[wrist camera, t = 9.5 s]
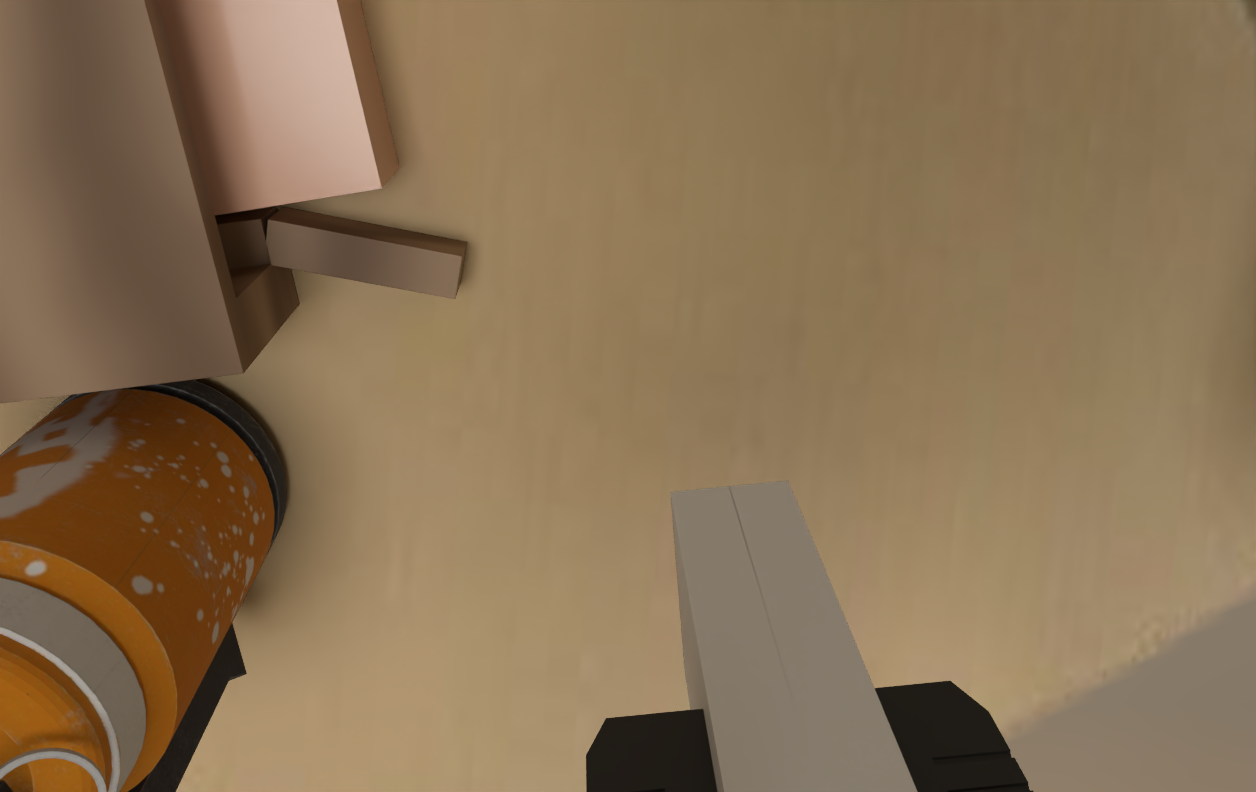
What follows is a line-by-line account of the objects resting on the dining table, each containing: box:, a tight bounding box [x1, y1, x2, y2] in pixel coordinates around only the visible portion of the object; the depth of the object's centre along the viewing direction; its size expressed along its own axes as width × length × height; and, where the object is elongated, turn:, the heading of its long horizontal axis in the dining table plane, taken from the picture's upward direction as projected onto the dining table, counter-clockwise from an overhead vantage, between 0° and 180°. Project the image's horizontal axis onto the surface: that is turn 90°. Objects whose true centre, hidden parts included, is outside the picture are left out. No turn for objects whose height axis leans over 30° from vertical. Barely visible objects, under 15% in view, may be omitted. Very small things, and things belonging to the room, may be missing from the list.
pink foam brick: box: [158, 0, 399, 215], centre depth 33 cm, size 14×7×4 cm, turn 99°
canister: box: [0, 380, 286, 792], centre depth 31 cm, size 9×11×20 cm
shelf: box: [0, 0, 467, 403], centre depth 31 cm, size 22×16×7 cm
